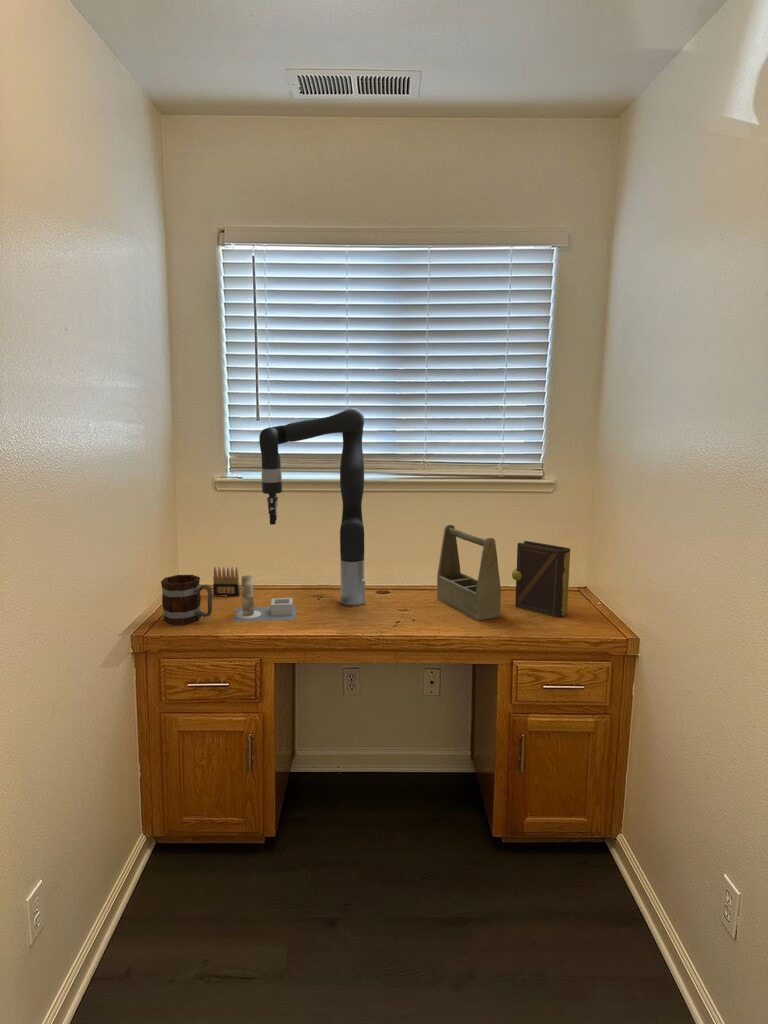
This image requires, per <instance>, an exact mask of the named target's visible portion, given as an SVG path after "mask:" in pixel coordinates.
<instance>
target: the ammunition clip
mask: <svg viewBox="0 0 768 1024" xmlns="http://www.w3.org/2000/svg"><path fill="white" fill-rule="evenodd" d="M212 579H213V586H212V587H213V588H212V596H213V595H227V596H226V597H235V596H239V595H240V596H241V587H240V577H239V569H238V567H235V569H234V567H231V568H229V566H227V568H225V566H223V567H222V570H221V567H220V566H218V569H217V568H216V566H214V568H213V578H212ZM240 596H239V597H240Z"/></svg>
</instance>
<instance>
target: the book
mask: <svg viewBox="0 0 768 1024" xmlns="http://www.w3.org/2000/svg"><path fill="white" fill-rule="evenodd" d="M516 548H517V551H516V554H517V555H516V568H514V569H513V570H512V572H511V576H512V577H511V578H512V579H513V580H514V581H515V604H514V607H515V608H518V609H522V610H526V611H529V612H533V613H538V614H542V615H544V616H550V617H554V618H560V619H562V618H565V617H566V616H568V615H567V614H568V605H569V604H568V603H569V583H570V582H569V580H570V563H571V560H570V559H571V548H570V547H566V546H560V545H559V546H558V545H552V544H548V543H542V542H535V541H529V540H524V541H523V542H518V543H517V547H516Z"/></svg>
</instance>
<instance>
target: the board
mask: <svg viewBox="0 0 768 1024" xmlns="http://www.w3.org/2000/svg"><path fill="white" fill-rule="evenodd" d="M296 612H297V605H293V597H281V598H280V597H279V598H271V602H270V606H269V605H268V606H266V605H265V606H254V615H252V616H244V615H243V609H242V607H241V606H240V607H236V610H235V613H234V616H233V618H232V619H233V620H232V623H240V622H241V623H242V622H243V623H244V622H265V621H267V622H268V621H289V620H290V621H291V620H292V621H294V620H297V618H296V617H297V616H296V615H297V613H296Z"/></svg>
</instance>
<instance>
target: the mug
mask: <svg viewBox="0 0 768 1024" xmlns="http://www.w3.org/2000/svg"><path fill="white" fill-rule="evenodd" d="M200 581H201V579H200V576H198V575H195V574H176V575H171V576H166V577H164V578H163V579H162V580H161V581H160V584H161V592H162V596H161V597H162V601H161V604H162V610H163V611H162V612H163V617H162V618H163V620H162V621H164V622H166V623H168V624H167V625H169V624H170V625H169V626H187V624H188V625H192V624H195V623H198V622H200V620H201V619H202V618H206V617H209V616H210V615H211V614H212V611H213V589H212V587H211V586H210V585H208V584H203V585H200ZM203 589H205V590H206V591H207V613H205V612H204V611H201V600H202V599H201V598H202V597H201V596H202V595H201V591H202V590H203ZM201 616H202V617H201ZM200 618H201V619H200ZM199 619H200V620H199ZM197 621H198V622H197ZM164 622H163V623H164ZM194 622H195V623H194ZM166 623H165V624H166ZM191 623H192V624H191Z"/></svg>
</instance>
